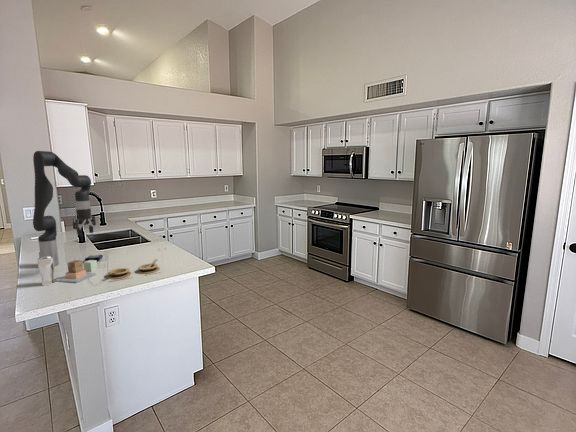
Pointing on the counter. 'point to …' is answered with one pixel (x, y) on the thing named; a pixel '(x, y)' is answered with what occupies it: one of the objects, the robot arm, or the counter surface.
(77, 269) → the block
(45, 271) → the beer glass
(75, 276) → the plate
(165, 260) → the counter surface
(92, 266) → the block
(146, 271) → the tableware set
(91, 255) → the purple clover wallet
